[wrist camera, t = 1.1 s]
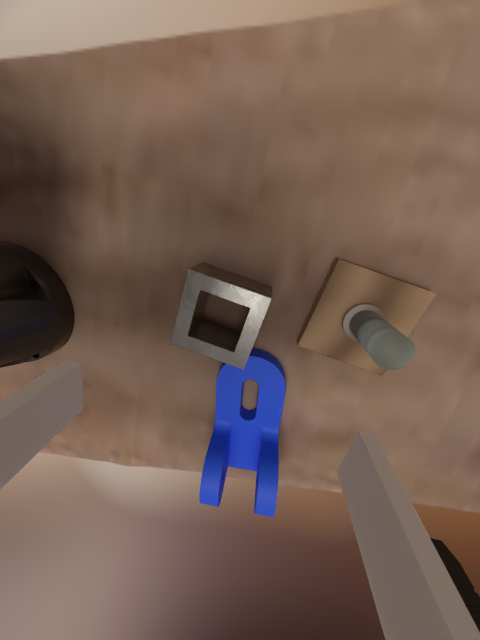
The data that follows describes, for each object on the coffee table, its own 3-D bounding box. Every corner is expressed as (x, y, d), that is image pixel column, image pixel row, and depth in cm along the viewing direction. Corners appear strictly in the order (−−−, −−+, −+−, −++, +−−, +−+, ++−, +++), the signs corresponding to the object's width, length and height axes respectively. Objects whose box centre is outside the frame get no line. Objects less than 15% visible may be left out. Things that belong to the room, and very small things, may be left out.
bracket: (271, 460, 35) (271, 531, 27) (216, 451, 36) (199, 517, 28) (289, 352, 29) (295, 401, 20) (221, 344, 30) (201, 387, 21)
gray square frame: (186, 325, 29) (170, 343, 25) (203, 262, 26) (188, 269, 22) (248, 347, 29) (243, 369, 24) (272, 287, 26) (271, 298, 22)
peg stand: (296, 340, 28) (305, 381, 20) (336, 257, 24) (364, 269, 17) (377, 369, 28) (417, 421, 20) (429, 290, 24) (500, 317, 17)
